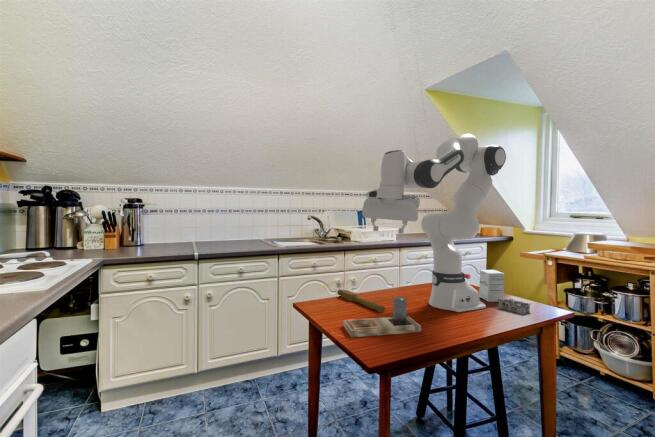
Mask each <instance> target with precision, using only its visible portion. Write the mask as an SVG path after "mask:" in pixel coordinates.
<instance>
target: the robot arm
mask: <svg viewBox="0 0 655 437" xmlns="http://www.w3.org/2000/svg"><path fill="white" fill-rule="evenodd" d="M435 153H436V156H435V157H436V159H432V158H431V159H425V160H421V161H413V160H411V159H410V158H409V157H408V156H407V154H406V151H405V150H400V149H397V150H396V149H395V150H389V151H387V152H385V153H384V154H383V156H382V159H381V160H382V161H381V166H380V177H381V180H380V183H379V188H377V189H374V190H369V191H367V192H366V193H365V194H366V195H365V196H366V198H365V199H364V202H363V206H362V212H361V215H362V217H363V218H364V219H365V218H367V219H370V222H371V224H372V226H373V228H372V229H373V230H372V231H374V232H379V226H377V223H376V222H377V220H378V219H379V220H387V221H388V220H392V221H401V222H402V223H401V224H402V226H401V228H399V227H398V231H397V232H398V234H401V235H402V234H404V232H405V228H406V227H407V225H408V222H412V223H413V222H417V221H418V220H419V206H420V202H421V201H420V198H419V197H417V195H408V194H407V195H406V194H404V193H405V189H422V188H423V189H434V188H436V187H438V186H439V184H440V183H441V182H442V181H443V179H444V178H445V177H446V176H447V175H448V174H450V172H452V171H454V170H455V169H456V170H457V171H458V172H460V173H469V174H468V177H467V178H466V179H465V180H464V182H463V183H462V184H461V185H460V187H459V188H458V189H457V190H456V192H455V193H454V194H453V196H452V198H451V205H452V207H453V209H452V210H450V211H432V212H428V213H426V214H425V215H424V216H423V217H422V219H421V222H420V223H421V229H422V232H424V234H425V235H426V236H427V237H428V240H429V242H430V245H431V248H432V254H433V269H432V271H431V272H432V273H431V274H432V275H431V281H432V282H431V283H432V286H431V293H430V296H429V297H430V298H429V300H428V305H430V306H431V307H433V308H435V309H436V308H437V309H440V310H445V311H453V312H456V313H460V312H461V313H463V312H467V311H474V310H480V309H482V310H483V309H486V308H487V306H486V303H484V302H483V301H481V300H480V297H479V290H477V289H476V288H474V287H473V285H471V284H470V283H469V282H467V281H466V279H467V280H470V279H471V276H472V275H471V274H469V273H467V272H466V273H464V272H463V270H462V269H463V268H462V267H463V265H462V264H463V263H462V262H463V255H462V252H461V251H460V250H459V249H458V248H457V247H456V245H455V243H454V240H458V241H463V240H472V239H474V238H475V237H476V236H477V234H478V232H479V229H480V224H479V220H478V218H477V217H476V212H477V211H478V209H479V207H480V206H481V205H482V203H483V202H484V200H485V199H486V197H487V196H488V194H489V191H490V190H491V188H492V185H493V178H492V177H493V176H496V175H497V174H499V171H500V170H502V168H503V166H504V165H505V163H506V160H507V156H506V155H507V154H506V151H505V149H504V148H503V147H502V146H500V145H496V144H490V145H479V142H478V139H477V137H476V136H474V135H473V134H471V133H463V134H459V135H455V136H454V137H451V138H449V139H447V140H445V141H443V142H442V143H440V145H439V146H438V147H437V149H436V152H435Z"/></svg>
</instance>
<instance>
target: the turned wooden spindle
mask: <svg viewBox="0 0 655 437" xmlns="http://www.w3.org/2000/svg"><path fill="white" fill-rule="evenodd" d="M337 295H338V296H340V298H343V299H345V300H347V301H349V302H355V303H358V304H361V305H363V306H364V307H365V308H369V309H371V310H373V311H377V312H378V313H380V314H382V313H384V312H385V311H386V308H385V306H384V305H382V304H378V303H376V302H374V301H371V300H369V299H368V300H367V299H365V298H362V297H359V295H358V294H357V293H356V292H352V291H350V290H348V289H337Z"/></svg>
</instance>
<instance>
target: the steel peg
mask: <svg viewBox="0 0 655 437" xmlns="http://www.w3.org/2000/svg"><path fill="white" fill-rule="evenodd" d="M407 300H408V299H407V298H406V297H403V296H402V297H401V296H396V297H393V301H392V302H393V303H392V307H393V309H392V317H393V325H394V326H400V325H406V316H407Z"/></svg>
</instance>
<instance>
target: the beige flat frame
mask: <svg viewBox="0 0 655 437" xmlns="http://www.w3.org/2000/svg"><path fill="white" fill-rule="evenodd" d="M343 327H344V329H345V331H346V332H347V333H348V334H349V336H350V337H351V338H357V337H359V338H361V337H373V336H384V335H385V336H387V335H399V334H412V333H413V334H414V333H421V332H422V325H421V324H419V323H418V322H416V320H414V319H413V318H412V317H411V316H409V315H406V325H400V326H394V325H393V316H392V317H391V316H388V317H375V318H374V317H372V318H371V317H370V318H367V317H365V318H353V319H344V320H343Z"/></svg>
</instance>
